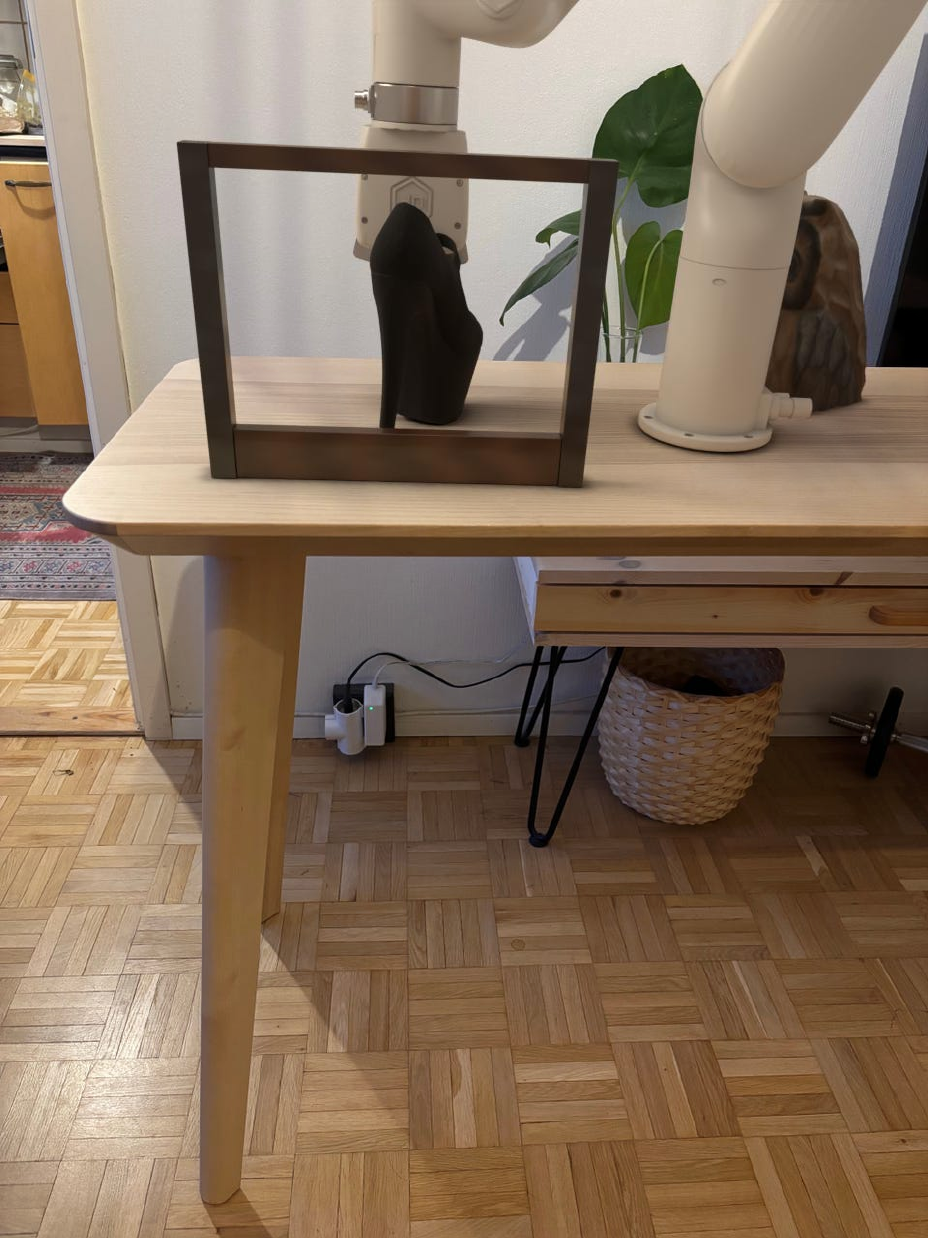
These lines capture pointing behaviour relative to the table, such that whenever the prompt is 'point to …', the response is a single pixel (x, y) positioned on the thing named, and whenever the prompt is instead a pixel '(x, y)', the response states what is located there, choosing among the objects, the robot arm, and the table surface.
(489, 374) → the table surface
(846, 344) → the owl
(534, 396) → the table surface
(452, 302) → the high-heeled shoe
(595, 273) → the wooden picture frame
